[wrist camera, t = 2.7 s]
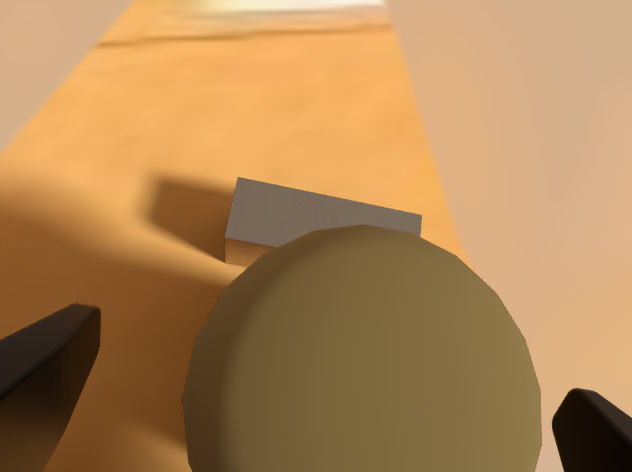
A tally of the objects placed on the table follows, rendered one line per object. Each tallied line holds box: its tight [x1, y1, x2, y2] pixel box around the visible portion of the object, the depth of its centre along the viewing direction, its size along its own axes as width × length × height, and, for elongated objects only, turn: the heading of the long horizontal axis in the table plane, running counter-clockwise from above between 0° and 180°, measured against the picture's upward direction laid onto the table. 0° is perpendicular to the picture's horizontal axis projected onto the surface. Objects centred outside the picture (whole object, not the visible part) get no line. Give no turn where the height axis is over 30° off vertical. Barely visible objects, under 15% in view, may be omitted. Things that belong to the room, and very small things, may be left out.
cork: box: [182, 224, 542, 472], centre depth 11 cm, size 6×6×11 cm
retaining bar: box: [224, 177, 422, 267], centre depth 16 cm, size 2×6×3 cm, turn 81°
